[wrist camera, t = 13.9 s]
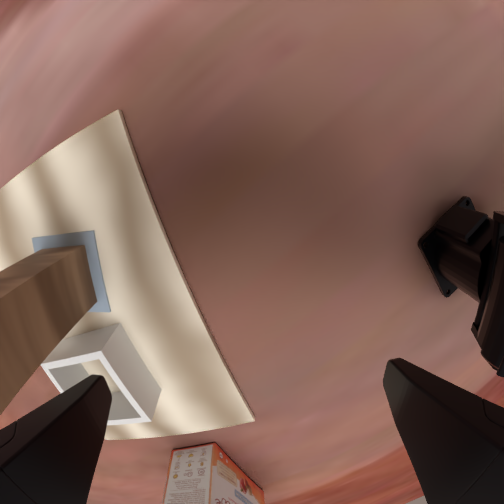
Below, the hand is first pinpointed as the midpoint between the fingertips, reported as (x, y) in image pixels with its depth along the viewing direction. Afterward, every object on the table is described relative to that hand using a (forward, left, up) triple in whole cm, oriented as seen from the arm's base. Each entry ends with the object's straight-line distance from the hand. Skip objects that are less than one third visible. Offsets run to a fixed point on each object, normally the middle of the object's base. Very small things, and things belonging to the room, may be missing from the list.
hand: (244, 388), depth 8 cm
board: (+4, +13, -13) cm, 19 cm away
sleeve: (0, +15, -12) cm, 20 cm away
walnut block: (+8, +11, -12) cm, 18 cm away
